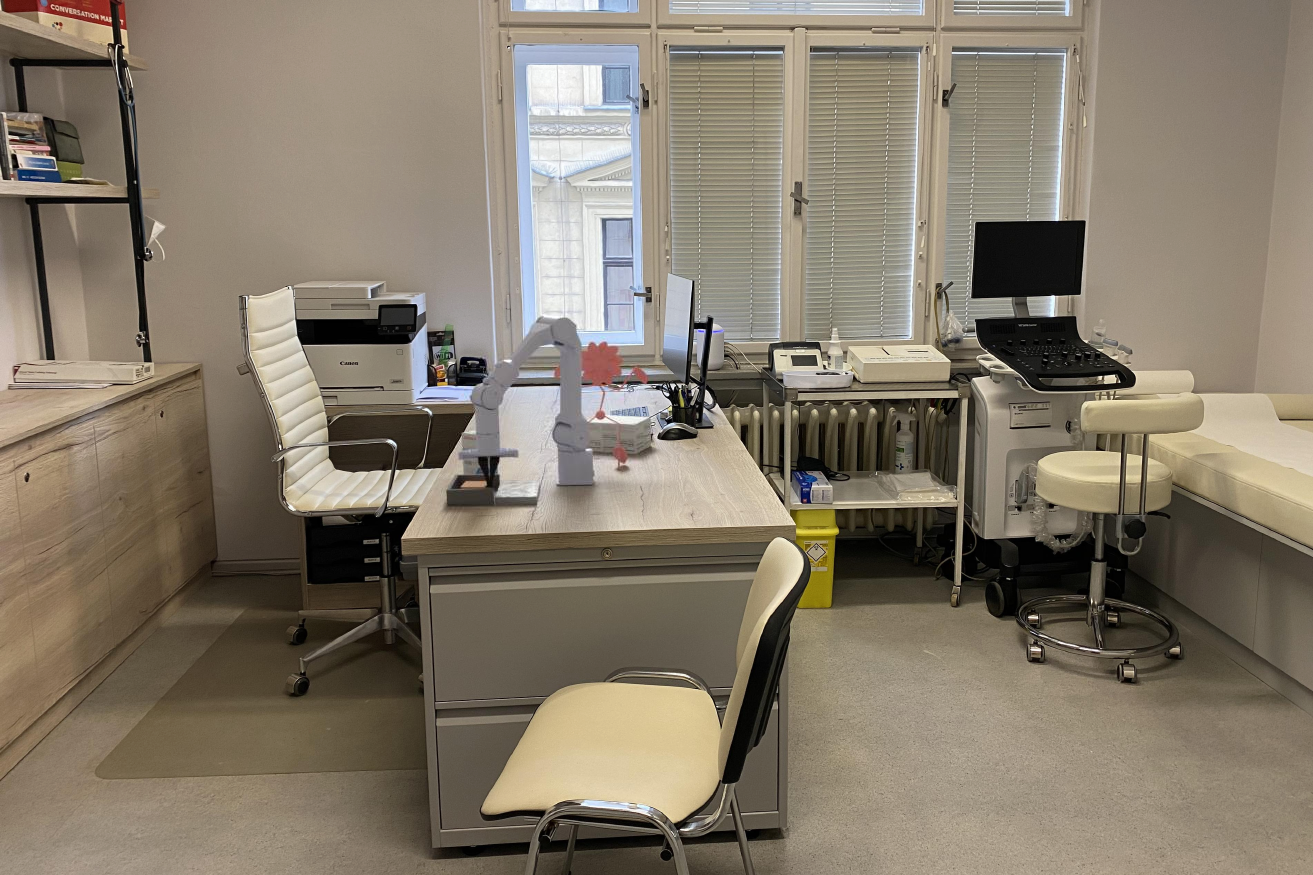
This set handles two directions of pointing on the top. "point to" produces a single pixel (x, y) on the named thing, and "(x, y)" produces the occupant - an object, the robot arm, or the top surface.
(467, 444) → the ink box
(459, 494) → the box
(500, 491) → the grey flat board
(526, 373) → the top surface
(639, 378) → the figurine
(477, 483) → the tile
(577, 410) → the robot arm
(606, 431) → the supplement box
